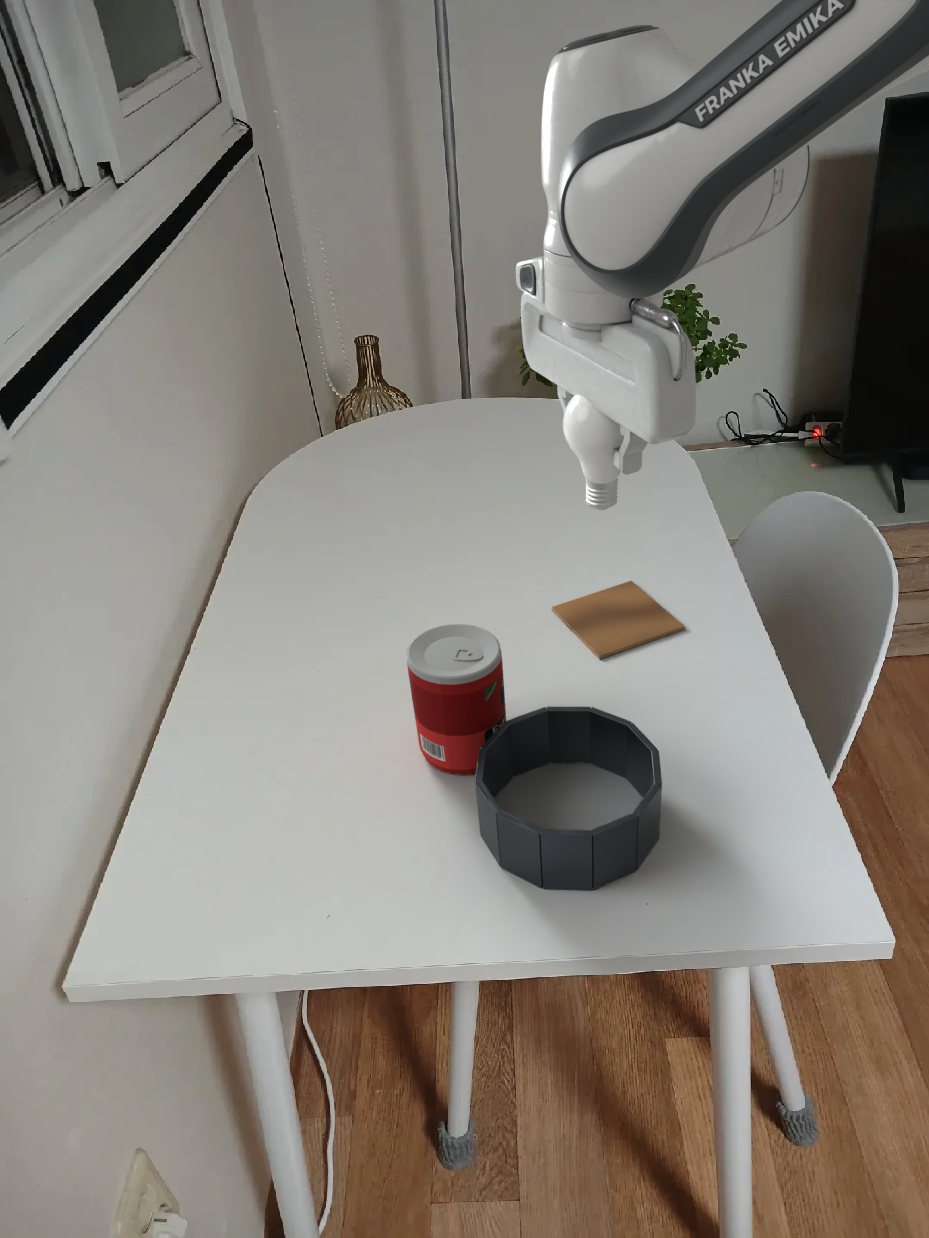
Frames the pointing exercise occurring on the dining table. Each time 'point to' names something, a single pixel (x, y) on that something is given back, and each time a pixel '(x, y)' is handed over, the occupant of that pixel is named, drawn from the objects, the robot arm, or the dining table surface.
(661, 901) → the dining table surface
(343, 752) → the dining table surface
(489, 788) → the dark grey polygonal container
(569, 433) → the lightbulb
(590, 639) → the coaster
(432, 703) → the canned food
